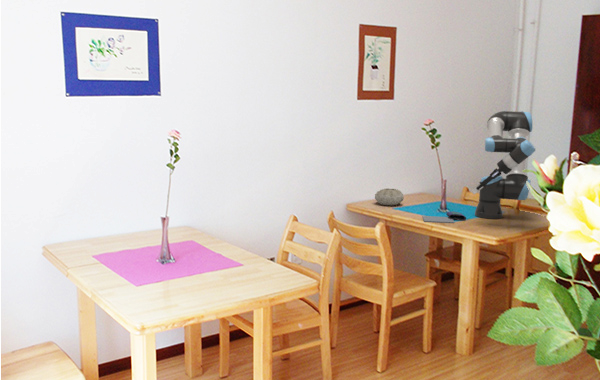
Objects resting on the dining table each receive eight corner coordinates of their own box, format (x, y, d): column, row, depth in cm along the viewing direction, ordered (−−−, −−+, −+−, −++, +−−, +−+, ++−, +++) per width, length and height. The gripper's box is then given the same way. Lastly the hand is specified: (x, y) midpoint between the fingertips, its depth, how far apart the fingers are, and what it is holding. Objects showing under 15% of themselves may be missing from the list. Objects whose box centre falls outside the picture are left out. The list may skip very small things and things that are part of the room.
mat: (451, 218, 326) (451, 217, 326) (454, 223, 313) (454, 222, 313) (422, 216, 328) (422, 215, 328) (424, 221, 315) (424, 220, 315)
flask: (465, 220, 321) (461, 216, 331) (466, 215, 320) (461, 211, 331) (449, 218, 321) (444, 214, 331) (450, 213, 320) (445, 209, 331)
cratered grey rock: (369, 202, 368) (370, 187, 366) (393, 201, 374) (394, 185, 373) (384, 208, 351) (384, 191, 350) (409, 206, 358) (410, 190, 357)
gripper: (510, 171, 296) (474, 199, 307) (514, 168, 307) (480, 195, 318) (500, 160, 298) (465, 189, 308) (504, 157, 309) (470, 185, 320)
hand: (472, 192), depth 313 cm, fingers closed
